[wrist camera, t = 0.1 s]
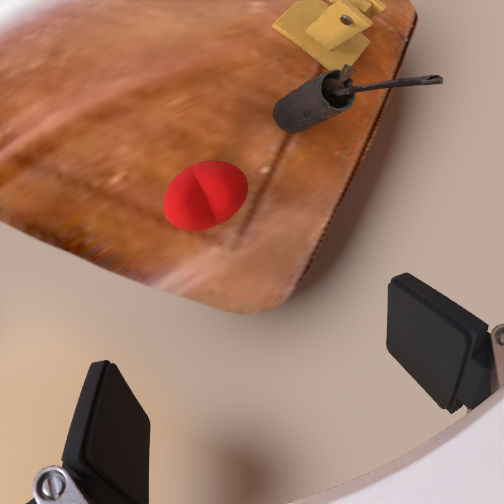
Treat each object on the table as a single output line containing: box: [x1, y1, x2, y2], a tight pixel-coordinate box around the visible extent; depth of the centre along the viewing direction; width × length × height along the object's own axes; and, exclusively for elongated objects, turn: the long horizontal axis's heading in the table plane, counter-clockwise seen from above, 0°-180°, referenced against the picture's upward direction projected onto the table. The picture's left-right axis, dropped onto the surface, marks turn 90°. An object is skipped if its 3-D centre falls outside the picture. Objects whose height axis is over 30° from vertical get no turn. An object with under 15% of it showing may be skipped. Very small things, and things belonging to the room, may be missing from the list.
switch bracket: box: [272, 0, 387, 71], centre depth 28 cm, size 12×9×12 cm
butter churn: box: [273, 64, 443, 133], centre depth 23 cm, size 9×10×28 cm
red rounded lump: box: [163, 161, 248, 231], centre depth 33 cm, size 9×7×10 cm
